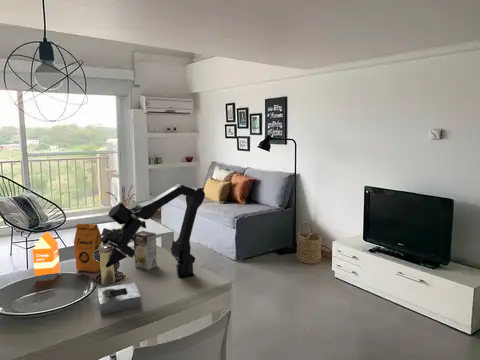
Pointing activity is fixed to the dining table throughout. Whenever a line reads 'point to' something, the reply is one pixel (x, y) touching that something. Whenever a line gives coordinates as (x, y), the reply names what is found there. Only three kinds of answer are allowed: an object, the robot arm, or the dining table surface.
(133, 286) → the bore housing
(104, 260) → the brass plug
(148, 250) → the coffee box
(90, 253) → the coffee package
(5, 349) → the dining table surface
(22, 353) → the dining table surface
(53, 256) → the orange juice
